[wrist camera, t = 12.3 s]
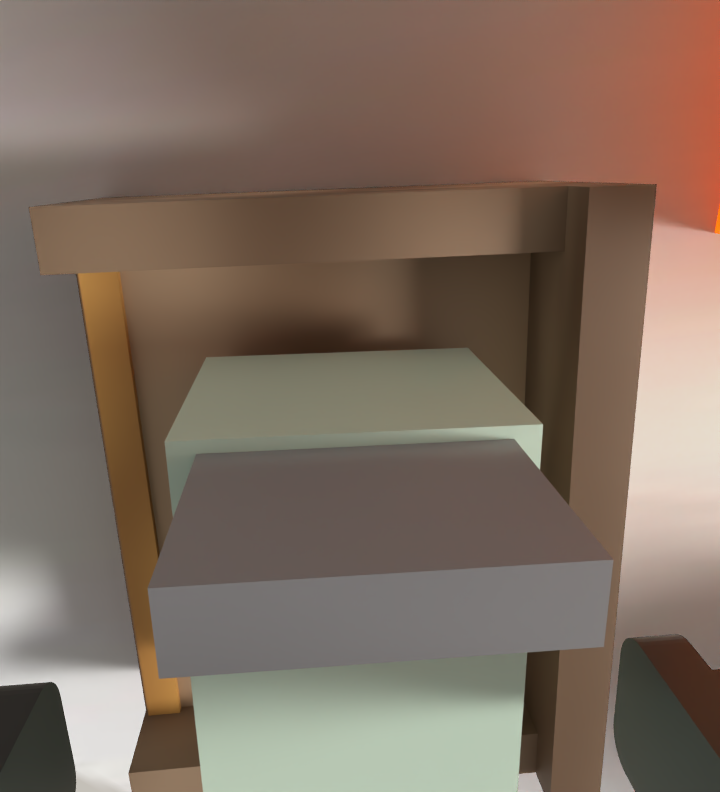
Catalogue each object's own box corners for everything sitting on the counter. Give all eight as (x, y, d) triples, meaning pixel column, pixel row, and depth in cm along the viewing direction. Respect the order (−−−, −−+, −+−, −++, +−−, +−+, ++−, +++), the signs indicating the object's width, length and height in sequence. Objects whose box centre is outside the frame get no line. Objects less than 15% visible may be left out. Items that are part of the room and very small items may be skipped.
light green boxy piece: (449, 328, 16) (655, 538, 7) (442, 628, 18) (585, 1079, 9) (216, 336, 15) (99, 571, 6) (241, 642, 18) (183, 1128, 9)
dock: (541, 181, 18) (656, 184, 12) (520, 639, 22) (598, 801, 16) (103, 198, 17) (6, 209, 11) (171, 670, 21) (125, 851, 16)
